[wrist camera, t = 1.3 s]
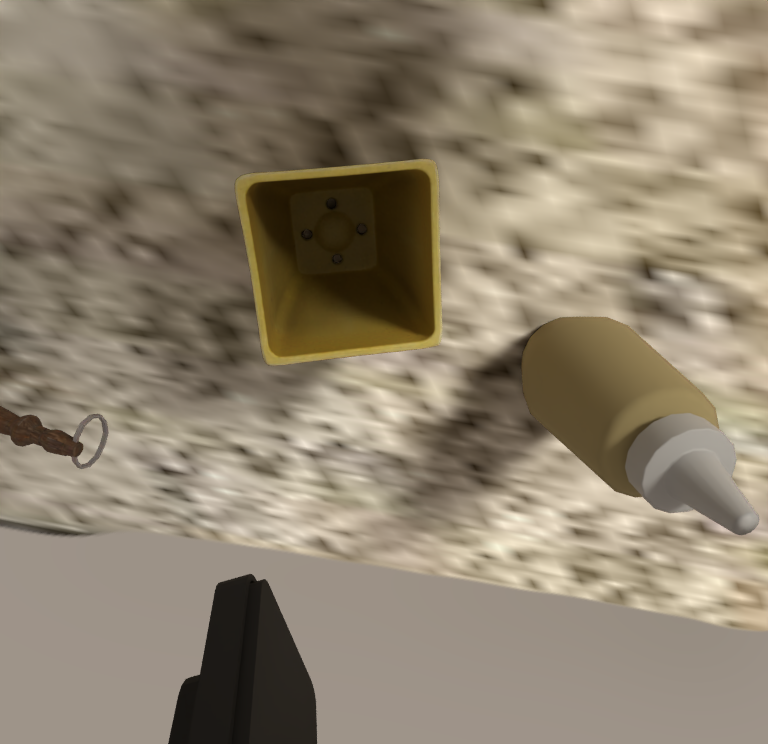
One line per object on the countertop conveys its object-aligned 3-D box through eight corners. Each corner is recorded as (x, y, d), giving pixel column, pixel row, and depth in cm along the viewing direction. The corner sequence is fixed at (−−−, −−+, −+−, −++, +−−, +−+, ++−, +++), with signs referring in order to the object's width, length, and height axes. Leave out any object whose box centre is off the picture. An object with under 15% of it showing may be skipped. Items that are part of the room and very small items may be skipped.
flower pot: (411, 297, 37) (443, 348, 28) (271, 311, 36) (263, 368, 28) (404, 148, 33) (438, 157, 25) (248, 160, 32) (231, 174, 24)
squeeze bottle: (510, 420, 41) (650, 619, 25) (497, 315, 38) (649, 465, 21) (619, 394, 41) (827, 573, 25) (616, 286, 38) (854, 413, 22)
